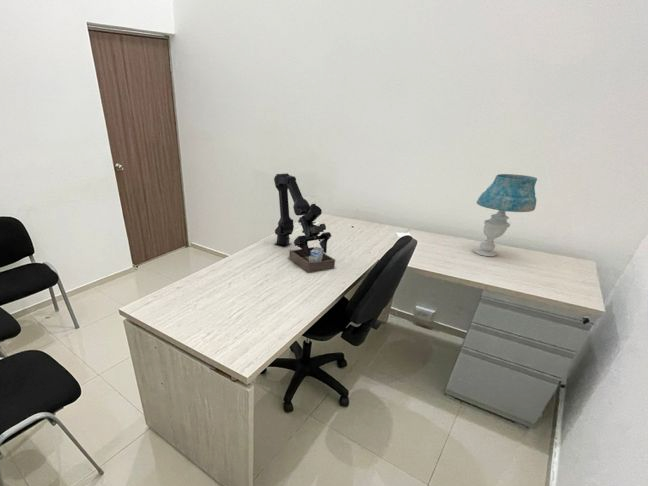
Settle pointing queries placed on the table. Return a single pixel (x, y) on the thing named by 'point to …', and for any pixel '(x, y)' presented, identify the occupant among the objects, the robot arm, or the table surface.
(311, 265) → the crate
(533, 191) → the table lamp
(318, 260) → the medicine box
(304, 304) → the table surface
